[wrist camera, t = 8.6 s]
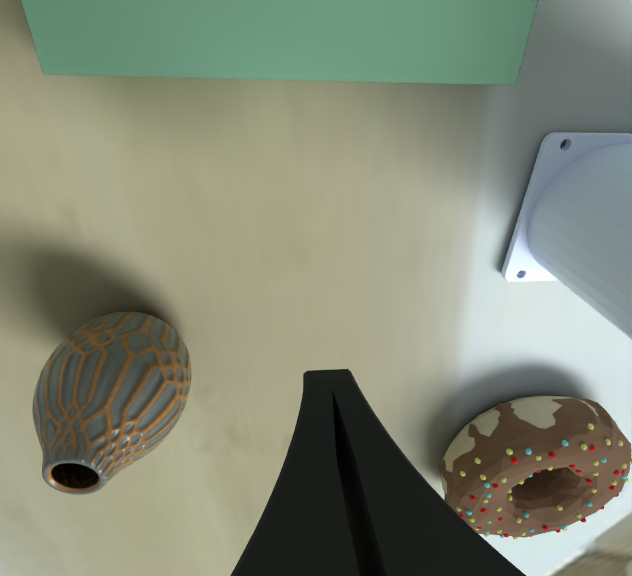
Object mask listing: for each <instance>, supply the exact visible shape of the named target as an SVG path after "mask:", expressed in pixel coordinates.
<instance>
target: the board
mask: <svg viewBox="0 0 632 576" xmlns="http://www.w3.org/2000/svg"><path fill="white" fill-rule="evenodd" d="M537 1H538V0H21V2H22V6H23V9H24V12H25V16H26V19H27V22H28V26H29V29H30V32H31V36H32V39H33V42H34V46H35V49H36V52H37V56H38V59H39V62H40V66H41V69H42V72H43V74H47V75H90V76H134V77H178V78H222V79H265V80H309V81H353V82H396V83H440V84H484V85H516V83H517V79H518V75H519V71H520V67H521V63H522V59H523V56H524V52H525V48H526V44H527V40H528V36H529V32H530V28H531V25H532V21H533V17H534V13H535V9H536V5H537Z"/></svg>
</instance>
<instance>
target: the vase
mask: <svg viewBox="0 0 632 576" xmlns="http://www.w3.org/2000/svg"><path fill="white" fill-rule="evenodd" d="M190 384H191V363H190V357H189V353H188V350H187V348H186V345H185V343H184V341H183V340H182V338H181V337H180V336H179V334H178V333H177V332H176V331H175V330H174V329H173V328H172V327H171V326H170V325H168V324H167V323H166V322H164V321H162V320H161V319H159V318H157V317H154V316H152V315H149V314H145V313H140V312H131V311H126V312H114V313H109V314H105V315H103V316H100V317H97V318H95V319H93V320H91V321H89V322H87V323H85V324H83V325H82V326H80V327H79V328H77V329H76V330H75V331H73V332H72V333H71V334H70V335H68V336H67V337H66V338H65V339H64V341H63V342H62V343H61V344H60V345H59V346H58V347H57V348H56V349H55V351H54V352H53V353H52V355H51V356H50V357H49V359H48V360H47V362H46V364H45V365H44V367H43V369H42V371H41V374H40V376H39V379H38V382H37V385H36V389H35V393H34V398H33V409H32V411H33V420H34V425H35V429H36V432H37V436H38V439H39V442H40V445H41V448H42V451H43V464H42V476H43V479H44V480H45V482H46V483H47V484H48V485H50V486H51V487H52V488H54V489H56V490H58V491H61V492H64V493H68V494H76V495H82V494H89V493H93V492H96V491H98V490H100V489H101V488H102V487H103V486H105V485H106V484H107V482H108V481H109V480H110V479H111V478H112V477H113V476H114V475H115V474H117V473H118V472H119V471H121V470H122V469H124V468H126V467H127V466H129V465H131V464H132V463H134V462H136V461H137V460H139V459H141V458H142V457H144V456H145V455H147V454H148V453H150V452H151V451H152V450H153V449H155V448H156V447H157V446H158V445H159V444H160V443H161V442H162V441H163V440H164V439H165V438H166V437H167V435H168V434H169V433H170V432H171V430H172V429H173V427H174V426H175V424H176V423H177V421H178V419H179V418H180V416H181V414H182V412H183V410H184V407H185V404H186V401H187V398H188V394H189V390H190Z"/></svg>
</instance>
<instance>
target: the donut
mask: <svg viewBox="0 0 632 576" xmlns="http://www.w3.org/2000/svg"><path fill="white" fill-rule="evenodd" d="M630 464H632V458H631V444H630V442H629V441H628V440H627V438H626V437H625V436H624V435H623V433H622V432H621V431H620V429H619V428H618V426H617V424H616V422H615V421H614V420H613V419H612V418H611V416H610V415H609V414H608V413H607V411H606V410H605V409H604V408H603V407H602V406H600V405H599V404H598V403H597V402H594V401H591V400H588V399H580V400H579V399H576V398H572V397H563V396H540V395H538V396H531V397H524V398H518V399H515V400H512V401H509V402H506V403H498V405H497V406H495V407H493V408H492V409H490V410H488V411H486V412H484V413H482V414H480V415H479V416H477V417H476V418H475V419H473V420H472V421H471V422H469V423H468V424H467V425H465V427H464V428H463V429H462V430H461V431H460V432H459V433H458V435H457V436H456V437H455V438H454V440H453V441H452V443H451V444H450V446H449V448H448V450H447V452H446V454H445V456H444V458H443V460H442V462H441V463H440V464H439V468H440V471H441V477H442V486H443V490H444V493H445V502H446V503H447V504H448V505H449V506H450V507H451V508H452V509H453V510H454V511H455V512H456V513H457V514H458V515H459V516H460V517H461V518H462V519H464V520H465V521H466V522H467V523H468V524H469V525H470V526H471V527H472V528H473V529H474V530H475V531H476V532H477V533H479V534H484V535H485V537H488V536H489V534H492V535H500V537H501V538H503V537H504V536H505V537H508V536H513V538H514V539H517V538H518V537H529V536H530V537H532V536H533V535H537V534H542V533H546V532H550V531H556V532H557V533H559V532H560V529H562V530H564V531H565V530H567V526H568V525H571V524H573V523H575V522H577V521H579V520H580V521H581V522H586V519H585V517H587V516H589V515H591V514H593V513H595V512H597V511H598V510H599V509H604V505H605V504H606V503H607V502H609V501H610V500H611V499H612V498H613V497H617V496H618V495H619V492H621V491H622V488H623V486H624V483H625V482H628V478H627V476H628V473H629V470H630Z"/></svg>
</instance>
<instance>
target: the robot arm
mask: <svg viewBox="0 0 632 576" xmlns="http://www.w3.org/2000/svg"><path fill="white" fill-rule="evenodd" d="M565 139H566V144H565V146H564V147H563V148H560V145H561V143H562V141H564V140H565ZM521 270H522V272H521V273H520V274H518V275H517V273H518V272H519V271H521ZM501 275H502V277H503V278H504V279H505V280H506V281H510V282H515V281H560V282H561V283H563V284H564V285H565V286H566V287H568V288H569V289H570V290H571V291H573V292H574V293H575V294H576V295H578V296H579V297H580V298H581V299H582V300H584V301H585V302H586V303H587V304H589V305H590V306H591V307H592V308H594V309H595V310H596V311H597V312H599V313H600V314H601V315H602V316H604V317H605V318H606V319H607V320H608V321H610V322H611V323H612V324H613V325H615V326H616V327H617V328H618V329H620V330H621V331H622V332H623V333H625V334H626V335H627V336H628V337H629V338H631V339H632V133H578V132H553V133H550V134H548V135H547V136H546V137H545V138H544V139H543V141H542V143H541V146H540V149H539V153H538V156H537V159H536V162H535V166H534V169H533V172H532V175H531V178H530V182H529V185H528V188H527V191H526V194H525V198H524V201H523V204H522V207H521V211H520V214H519V217H518V220H517V223H516V227H515V230H514V233H513V236H512V240H511V243H510V246H509V249H508V252H507V256H506V259H505V262H504V265H503V268H502V272H501ZM231 576H526V575H525V574H524V573H522V572H521V571H520V570H519V569H518V568H516V567H515V566H514V565H513V564H512V563H511V562H509V561H508V560H507V559H506V558H505V557H503V556H502V555H501V554H500V553H499V552H498V551H497V550H496V549H494V548H493V547H492V546H491V545H490V544H489V543H488V542H487V541H486V540H484V539H483V538H482V537H481V536H480V535H479V534H478V533H477V532H476V531H475V530H474V529H473V528H472V527H471V526H470V525H469V524H468V523H467V522H466V521H465V520H464V519H462V518H461V517H460V516H459V515H458V514H457V513H456V512H455V511H454V510H453V509H452V508H451V507H450V506H449V505H448V504H447V503H446V502H445V501H444V500H443V499H442V498H441V496H440V495H439V494H438V493H437V492H436V491H435V490H434V489H433V488H432V487H431V486H430V485H429V484H428V482H427V481H426V480H425V479H424V478H423V477H422V475H421V474H420V473H419V472H418V471H417V470H416V469H415V467H414V466H413V465H412V464H411V462H410V461H409V460H408V459H407V457H406V456H405V455H404V454H403V452H402V451H401V450H400V448H399V447H398V446H397V445H396V443H395V442H394V441H393V439H392V438H391V436H390V435H389V434H388V432H387V431H386V429H385V428H384V427H383V425H382V424H381V422H380V421H379V419H378V418H377V416H376V415H375V413H374V412H373V410H372V409H371V407H370V405H369V404H368V402H367V400H366V399H365V397H364V395H363V394H362V392H361V390H360V388H359V387H358V385H357V383H356V381H355V379H354V377H353V375H352V373H351V371H349V370H348V369H338V370H314V371H306V372H305V373H304V375H303V395H302V401H301V407H300V411H299V415H298V419H297V423H296V427H295V431H294V434H293V437H292V440H291V443H290V446H289V449H288V452H287V456H286V459H285V461H284V464H283V467H282V469H281V472H280V475H279V477H278V480H277V482H276V484H275V487H274V489H273V492H272V494H271V496H270V498H269V501H268V503H267V505H266V507H265V510H264V512H263V514H262V516H261V518H260V520H259V522H258V525H257V527H256V529H255V531H254V533H253V535H252V536H251V538H250V540H249V542H248V544H247V546H246V548H245V550H244V552H243V554H242V555H241V557H240V559H239V561H238V563H237V565H236V567H235V569H234V570H233V572H232V574H231Z"/></svg>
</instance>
